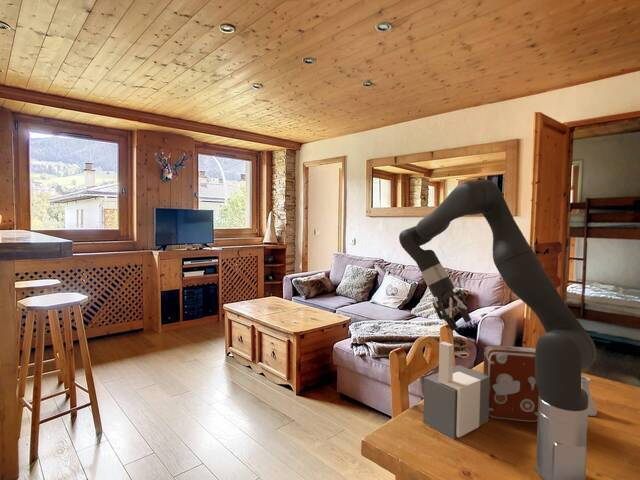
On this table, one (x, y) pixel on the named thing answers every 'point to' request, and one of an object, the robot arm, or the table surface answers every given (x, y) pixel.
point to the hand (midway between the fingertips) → (462, 325)
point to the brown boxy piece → (511, 382)
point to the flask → (585, 387)
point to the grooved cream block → (460, 390)
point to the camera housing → (450, 402)
